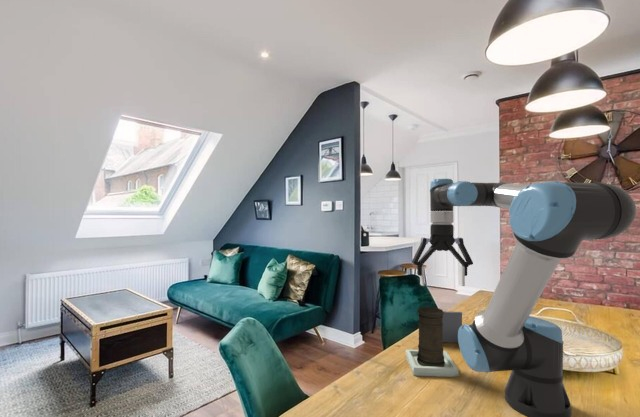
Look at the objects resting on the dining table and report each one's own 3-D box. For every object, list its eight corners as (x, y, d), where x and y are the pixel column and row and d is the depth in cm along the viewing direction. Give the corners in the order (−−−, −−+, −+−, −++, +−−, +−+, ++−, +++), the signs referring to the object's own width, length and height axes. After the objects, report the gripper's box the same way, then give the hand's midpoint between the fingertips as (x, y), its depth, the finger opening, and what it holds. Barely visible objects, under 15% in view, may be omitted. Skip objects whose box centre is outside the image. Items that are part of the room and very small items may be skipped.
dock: (475, 357, 120) (475, 324, 120) (431, 356, 121) (431, 322, 121) (461, 341, 135) (460, 311, 135) (422, 340, 136) (422, 310, 136)
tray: (458, 377, 106) (458, 369, 106) (413, 375, 107) (413, 367, 107) (445, 357, 120) (445, 350, 120) (405, 356, 121) (405, 349, 121)
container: (446, 370, 108) (446, 314, 108) (418, 367, 110) (418, 313, 110) (442, 358, 117) (442, 307, 117) (415, 356, 119) (415, 305, 119)
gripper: (473, 223, 119) (473, 283, 119) (403, 223, 120) (403, 282, 119) (483, 224, 112) (483, 287, 111) (408, 224, 112) (408, 287, 112)
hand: (442, 285), depth 115 cm, fingers open, 13 cm apart
